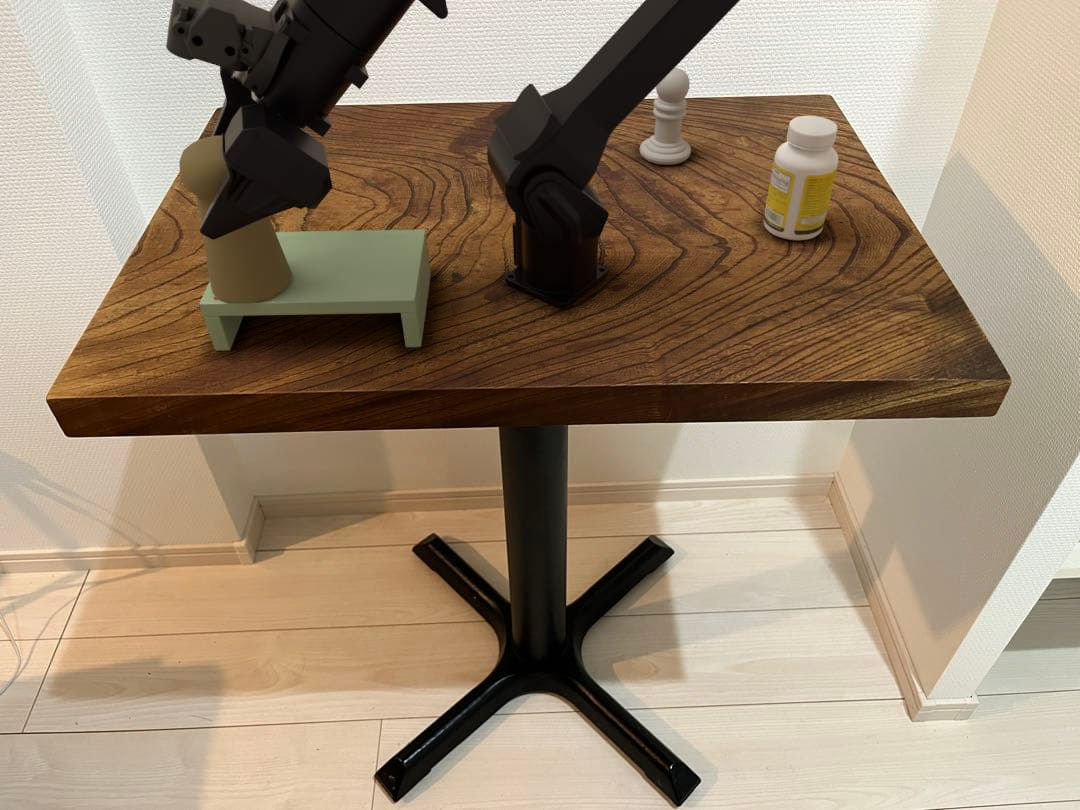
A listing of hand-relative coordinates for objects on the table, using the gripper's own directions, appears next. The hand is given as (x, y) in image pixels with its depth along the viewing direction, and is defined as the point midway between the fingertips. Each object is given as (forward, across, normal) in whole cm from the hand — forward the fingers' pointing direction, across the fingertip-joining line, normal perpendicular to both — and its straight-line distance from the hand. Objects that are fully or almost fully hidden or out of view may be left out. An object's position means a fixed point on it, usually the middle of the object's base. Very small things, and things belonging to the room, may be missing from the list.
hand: (206, 202), depth 61 cm
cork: (+4, 0, +6) cm, 7 cm away
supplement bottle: (-26, -2, +43) cm, 50 cm away
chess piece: (-22, -19, +39) cm, 48 cm away
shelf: (+4, -1, +13) cm, 13 cm away
